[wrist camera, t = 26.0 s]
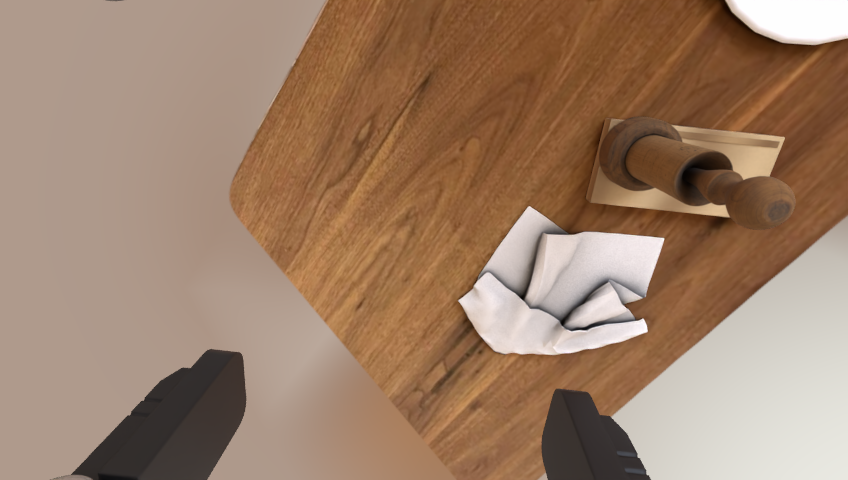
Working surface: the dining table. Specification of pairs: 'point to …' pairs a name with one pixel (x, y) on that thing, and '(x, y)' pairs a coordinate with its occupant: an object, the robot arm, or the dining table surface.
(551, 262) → the cloth
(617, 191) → the cutting board
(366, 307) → the dining table surface
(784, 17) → the plate
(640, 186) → the mortar and pestle
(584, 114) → the dining table surface
